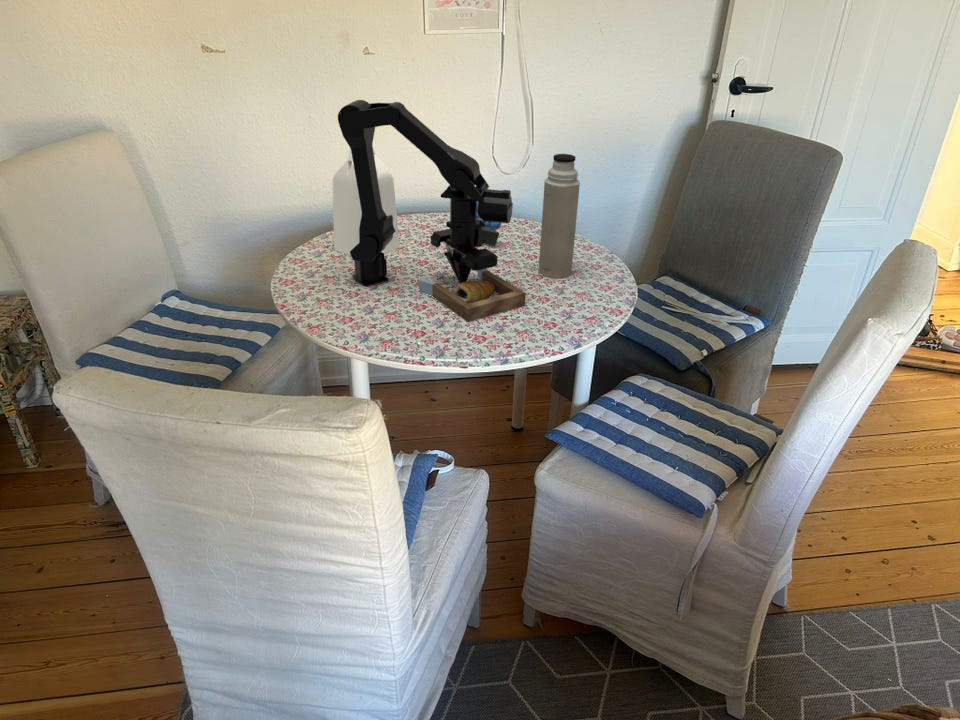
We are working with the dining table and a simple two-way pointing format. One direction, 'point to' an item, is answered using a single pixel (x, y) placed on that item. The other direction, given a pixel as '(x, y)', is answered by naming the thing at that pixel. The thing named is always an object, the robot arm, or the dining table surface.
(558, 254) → the thermos bottle
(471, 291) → the pastry
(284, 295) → the dining table surface
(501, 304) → the holder
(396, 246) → the milk
